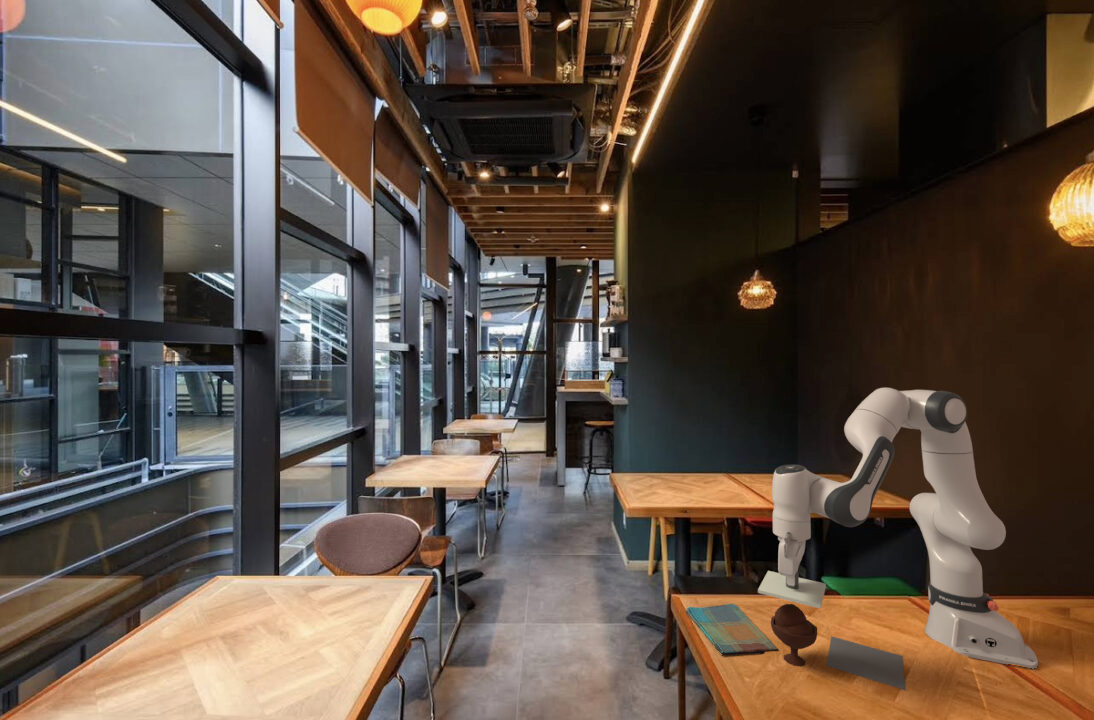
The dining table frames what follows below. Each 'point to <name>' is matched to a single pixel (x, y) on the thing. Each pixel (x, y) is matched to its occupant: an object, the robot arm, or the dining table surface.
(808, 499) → the robot arm
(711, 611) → the dish towel
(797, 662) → the ice cream bowl
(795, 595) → the lid
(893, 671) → the mat
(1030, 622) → the dining table surface
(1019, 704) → the dining table surface
